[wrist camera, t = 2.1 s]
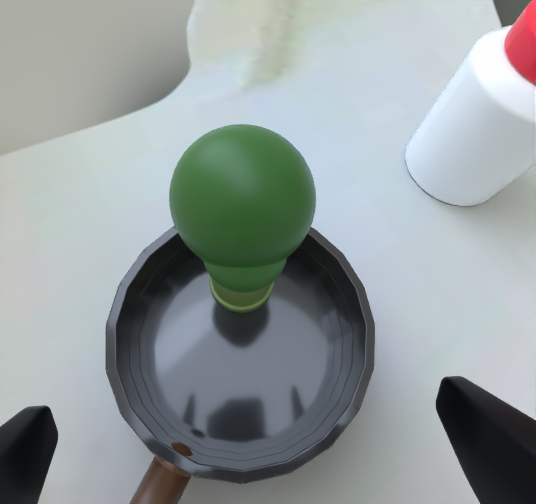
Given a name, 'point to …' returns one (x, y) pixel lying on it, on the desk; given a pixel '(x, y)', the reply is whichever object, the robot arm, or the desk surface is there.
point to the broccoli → (242, 209)
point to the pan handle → (163, 481)
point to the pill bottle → (481, 120)
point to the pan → (239, 361)
